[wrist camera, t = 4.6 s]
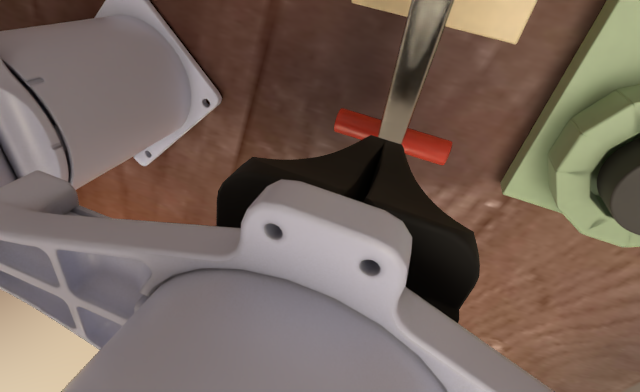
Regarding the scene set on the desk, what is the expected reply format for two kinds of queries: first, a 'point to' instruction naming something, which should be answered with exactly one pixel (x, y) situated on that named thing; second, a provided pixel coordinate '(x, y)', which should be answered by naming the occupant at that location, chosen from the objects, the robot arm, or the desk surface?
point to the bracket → (473, 15)
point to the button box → (585, 127)
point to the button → (622, 185)
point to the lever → (407, 87)
